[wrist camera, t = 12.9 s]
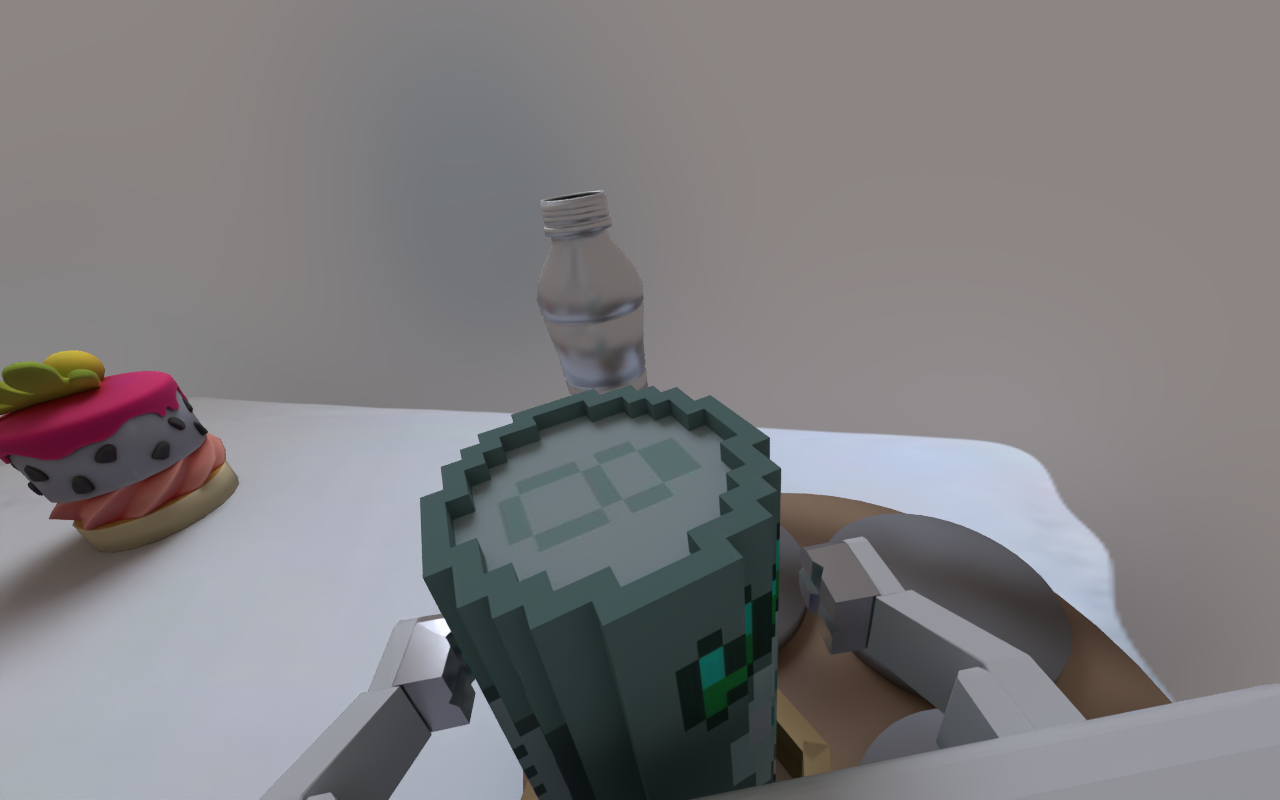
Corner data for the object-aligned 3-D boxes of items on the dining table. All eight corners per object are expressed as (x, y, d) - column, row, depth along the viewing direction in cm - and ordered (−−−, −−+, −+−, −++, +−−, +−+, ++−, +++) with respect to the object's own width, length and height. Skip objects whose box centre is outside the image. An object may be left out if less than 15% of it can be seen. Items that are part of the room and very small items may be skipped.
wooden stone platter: (1867, 1863, 6) (2462, 2201, 4) (390, 1111, 13) (312, 1085, 10) (1028, 532, 26) (1051, 469, 24) (623, 505, 33) (613, 454, 31)
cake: (108, 506, 42) (-29, 354, 35) (248, 456, 46) (153, 313, 39) (65, 579, 34) (-125, 401, 27) (238, 510, 39) (117, 343, 31)
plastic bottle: (632, 525, 31) (572, 204, 21) (565, 490, 35) (488, 208, 25) (687, 472, 35) (657, 183, 25) (621, 447, 39) (573, 190, 30)
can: (811, 879, 14) (857, 500, 7) (628, 1023, 12) (427, 711, 5) (705, 695, 19) (667, 364, 12) (564, 777, 17) (417, 444, 10)
